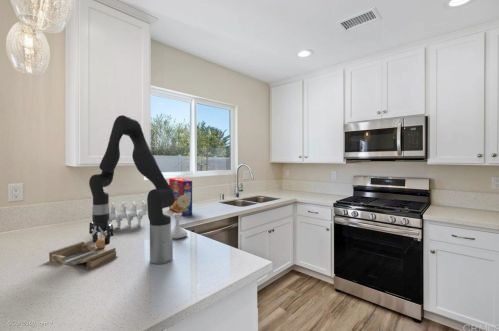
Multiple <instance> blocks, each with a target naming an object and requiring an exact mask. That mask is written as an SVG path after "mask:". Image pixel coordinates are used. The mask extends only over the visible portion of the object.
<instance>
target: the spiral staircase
mask: <svg viewBox="0 0 499 331" xmlns="http://www.w3.org/2000/svg"><path fill="white" fill-rule="evenodd" d="M120 207H121V209H120V212H117V210H116V206H115V202H112V203H111V207H110V209H111V210H110V211H111V212H110V213H109V225H111V223H112V222H113V221H115V222H116V223H117V224H116V226H117V227H118V229H121V225H122V224H121V223H122V222H121V221H123V219H126V220H127V225H128V227H129V229H131V228H132V227H131V226H132V221H133V220H134V218H136V219H137V224H138V226H139V227H141V223H142V222H141V220H143V217H144V216H146V215H147V213H148V207H147V203H146V201H145V200H142V201H141V204H140V209H138V208H137V204H136V201H135V200H134V201H132V203H131V206H130V207H131V208H130V209H131V210H130V211H128V210H127V206H126V204H125V201H122V202H121V206H120Z"/></svg>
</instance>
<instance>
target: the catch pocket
mask: <svg viewBox="0 0 499 331" xmlns="http://www.w3.org/2000/svg"><path fill="white" fill-rule="evenodd" d="M80 251H86V252H90V251H92V252H93V251H95V252H96V245H91V244H86V243H85V241H80V242H75V243H73V244H70V245H67V246H64V247H61V248H58V249H56V250H51V251H49V252H48V253H49V254H48V256H49V257H48V258H49V260H48V261H49V262H52V263H55V264H60V265H63V263H64V262H66V256H69V255H71V254H74V253H77V252H80Z"/></svg>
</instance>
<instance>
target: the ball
mask: <svg viewBox="0 0 499 331" xmlns="http://www.w3.org/2000/svg"><path fill="white" fill-rule="evenodd" d="M94 244H95V245H94V246H95V248H96V249H99V250H100V249H104V248H105V247H106V246H107V245H105V239H103V238H101V239H98V240H97V241H96V242H95V243H94Z"/></svg>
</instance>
